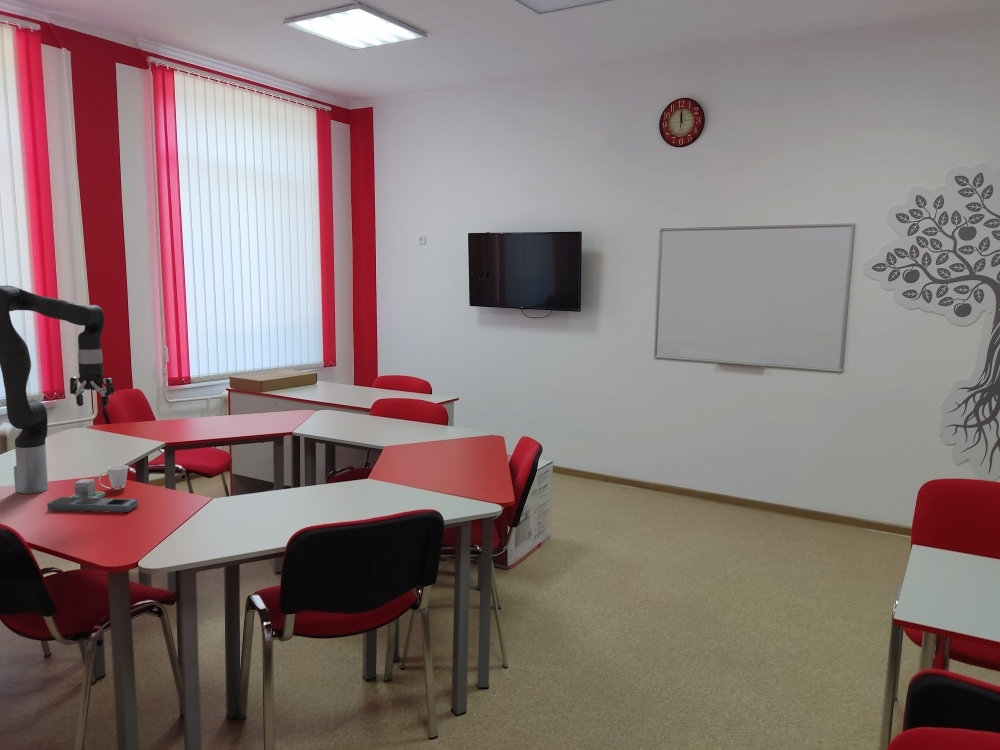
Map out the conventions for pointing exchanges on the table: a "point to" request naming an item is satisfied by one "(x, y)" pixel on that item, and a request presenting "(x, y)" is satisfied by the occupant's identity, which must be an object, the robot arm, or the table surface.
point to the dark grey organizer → (92, 504)
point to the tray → (97, 495)
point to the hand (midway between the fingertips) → (92, 406)
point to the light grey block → (85, 488)
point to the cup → (116, 476)
